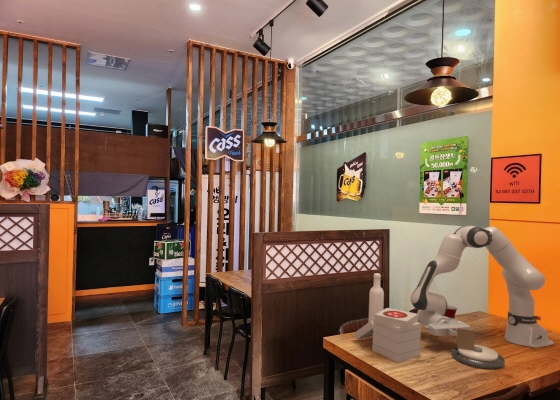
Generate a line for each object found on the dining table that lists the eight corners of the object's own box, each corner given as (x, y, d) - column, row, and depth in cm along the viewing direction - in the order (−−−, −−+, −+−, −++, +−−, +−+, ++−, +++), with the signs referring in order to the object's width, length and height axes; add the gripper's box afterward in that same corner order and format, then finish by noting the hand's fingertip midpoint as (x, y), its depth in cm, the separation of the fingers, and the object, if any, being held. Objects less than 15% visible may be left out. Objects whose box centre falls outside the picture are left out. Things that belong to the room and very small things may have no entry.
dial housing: (479, 348, 184) (479, 344, 184) (516, 367, 163) (516, 362, 163) (441, 351, 179) (442, 346, 179) (474, 371, 158) (474, 366, 158)
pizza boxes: (377, 335, 198) (378, 301, 198) (426, 357, 172) (427, 317, 172) (349, 342, 188) (350, 305, 188) (397, 365, 162) (398, 323, 162)
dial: (494, 350, 176) (495, 328, 176) (500, 364, 161) (501, 339, 161) (455, 345, 182) (456, 323, 182) (457, 357, 167) (458, 333, 167)
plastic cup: (458, 326, 217) (459, 305, 217) (455, 331, 208) (456, 309, 208) (438, 322, 223) (438, 302, 223) (434, 327, 214) (435, 306, 214)
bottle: (366, 325, 213) (367, 272, 214) (380, 325, 214) (381, 272, 214) (371, 330, 205) (372, 275, 206) (385, 330, 206) (386, 275, 206)
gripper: (422, 319, 186) (440, 329, 173) (458, 317, 191) (479, 326, 178) (422, 332, 186) (440, 342, 173) (458, 330, 191) (478, 340, 178)
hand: (460, 334), depth 175 cm, fingers closed
